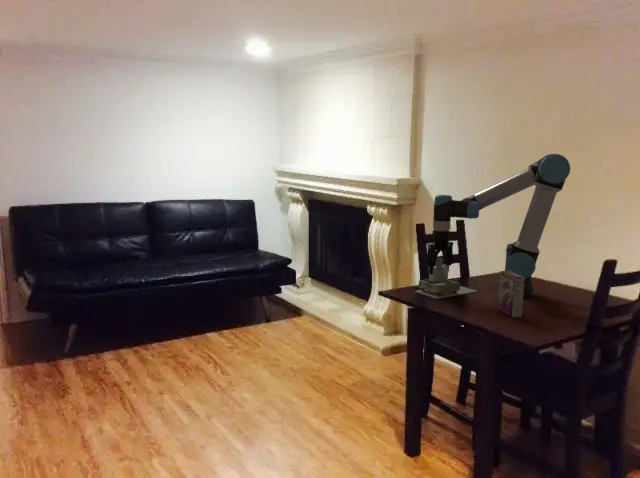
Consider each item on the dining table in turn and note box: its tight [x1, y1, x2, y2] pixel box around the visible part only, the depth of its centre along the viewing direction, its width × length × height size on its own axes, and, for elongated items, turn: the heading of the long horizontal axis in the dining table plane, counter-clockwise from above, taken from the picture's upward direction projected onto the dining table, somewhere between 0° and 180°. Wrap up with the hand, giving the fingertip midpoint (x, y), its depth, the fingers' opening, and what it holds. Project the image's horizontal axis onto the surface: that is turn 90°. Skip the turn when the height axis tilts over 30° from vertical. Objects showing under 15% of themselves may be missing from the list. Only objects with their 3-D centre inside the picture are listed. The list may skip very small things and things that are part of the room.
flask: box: [434, 257, 446, 282], centre depth 260 cm, size 7×7×10 cm
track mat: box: [414, 285, 478, 300], centre depth 265 cm, size 14×26×1 cm, turn 123°
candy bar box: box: [497, 270, 525, 319], centre depth 230 cm, size 11×5×16 cm, turn 12°
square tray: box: [418, 278, 461, 296], centre depth 262 cm, size 13×13×5 cm
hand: (438, 279), depth 261 cm, fingers closed on flask, 7 cm apart
